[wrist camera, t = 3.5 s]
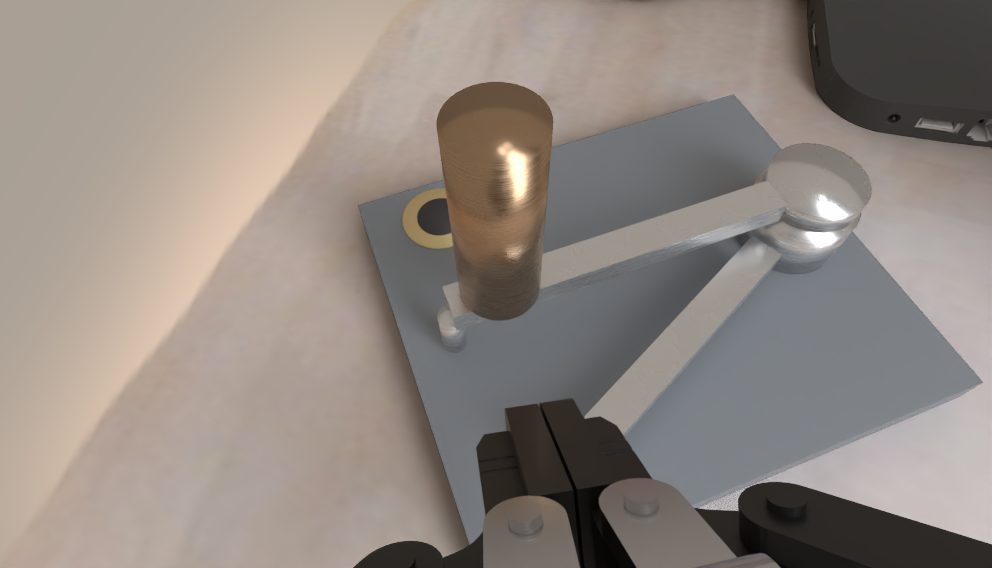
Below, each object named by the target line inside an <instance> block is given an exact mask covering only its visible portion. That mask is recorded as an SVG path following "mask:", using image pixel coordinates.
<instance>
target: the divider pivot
mask: <svg viewBox="0 0 992 568" xmlns="http://www.w3.org/2000/svg"><path fill="white" fill-rule="evenodd" d="M766 170H767V169H765V170H764V171H763V172H762V173H761V174H760V175H759V176H758V178H757V179H756V181H755V183H754V185H756V184H759V183H761V181H762V178H763V176H764V174H765V172H766ZM860 216H861V212H860V213H859V215H858V216H857V217H856V219H855V220H854V221H853V222H852V223H851V224H850V225H849V226H847V227H845V228H843V229H841V230H838V231H835V232H829V233H815V232H809V231H804V230H801V229H798V228H795V227H793V226H791V225H789V224H787V223H785V222H784V221H782V220H781V219H779V221H777V222H774V223H771V224H768V225H765V226H762V227H759V228H756V229H753V230H750V231H748V232H745V233H742V234H739V235H736V236H737V239H738V241H739V243H740V245H741V249H740V250H739V251H738V252H737V253H736V254H735V255H734V256H733V257H732V258H731V259H730V260H729V261H728V263H727V264H726V265H725V266H724V267H723V268H722V269H721V270H720V271H719V272H718V273H717V274H716V275H715V277H714V278H713V279H712V280H711V281H710V282H709V283H708V284H707V285H706V286H705V287H704V288H703V289H702V291H701V292H700V293H699V294H698V295H697V296H696V297H695V298H694V299H693V300H692V301H691V302H690V303H689V305H688V306H687V307H686V308H685V309H684V310H683V311H682V312H681V313H680V314H679V315H678V316H677V317H676V318H675V320H674V321H673V322H672V323H671V324H670V325H669V326H668V327H667V328H666V329H665V330H664V331H663V332H662V334H661V335H660V336H659V337H658V338H657V339H656V340H655V341H654V342H653V343H652V344H651V345H650V346H649V348H648V349H647V350H646V351H645V352H644V353H643V354H642V355H641V356H640V357H639V358H638V359H637V360H636V362H635V363H634V364H633V365H632V366H631V367H630V368H629V369H628V370H627V371H626V372H625V373H624V374H623V376H622V377H621V378H620V379H619V380H618V381H617V382H616V383H615V384H614V385H613V386H612V387H611V388H610V390H609V391H608V392H607V393H606V394H605V395H604V396H603V397H602V398H601V399H600V400H599V401H598V402H597V403H596V405H595V406H594V407H593V408H592V409H591V410H590V411H589V412H588V413H587V414H586V415H585V416H584V419H586V418H592V417H599V416H601V417H603V418H604V419H606V420H608V421H610V422H612V423H613V424H615V425H617V426H618V428H619V429H620V431H621V432H622V434H623V435H624V437H625V436H626V435H627V434H628V433H629V432H630V430H631V429H632V428H633V427H634V426H635V425H636V424H637V422H638V421H639V420H640V419H641V418H642V417H643V416H644V414H645V413H646V412H647V411H648V410H649V409H650V408H651V407H652V405H653V404H654V403H655V402H656V401H657V400H658V399H659V397H660V396H661V395H662V394H663V393H664V392H665V391H666V389H667V388H668V387H669V386H670V385H671V384H672V383H673V381H674V380H675V379H676V378H677V377H678V376H679V375H680V374H681V372H682V371H683V370H684V369H685V368H686V367H687V366H688V364H689V363H690V362H691V361H692V360H693V359H694V358H695V356H696V355H697V354H698V353H699V352H700V351H701V350H702V348H703V347H704V346H705V345H706V344H707V343H708V342H709V341H710V339H711V338H712V337H713V336H714V335H715V334H716V333H717V331H718V330H719V329H720V328H721V327H722V326H723V325H724V323H725V322H726V321H727V320H728V319H729V318H730V317H731V315H732V314H733V313H734V312H735V311H736V310H737V309H738V308H739V306H740V305H741V304H742V303H743V302H744V301H745V300H746V298H747V297H748V296H749V295H750V294H751V293H752V292H753V290H754V289H755V288H756V287H757V286H758V285H759V284H760V282H761V281H762V280H763V279H764V278H765V277H766V276H767V275H768V273H769V272H770V271H771V270H773V271H776V272H780V273H785V274H794V275H796V274H807V273H811V272H814V271H816V270H818V269H820V268H822V267H823V266H824V265H825V264H826V263H827V262H828V261H829V260H830V259H831V257H832V256H833V255H834V254H835V252H836V251H837V250H838V249H839V247H840V246H841V245H842V243H843V242H844V241H845V240H846V238H847V237H848V236H849V235H850V233H851V232H852V231H853V230H854V228H855V227H856V226H857V224H858V222H859V220H860Z"/></svg>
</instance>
